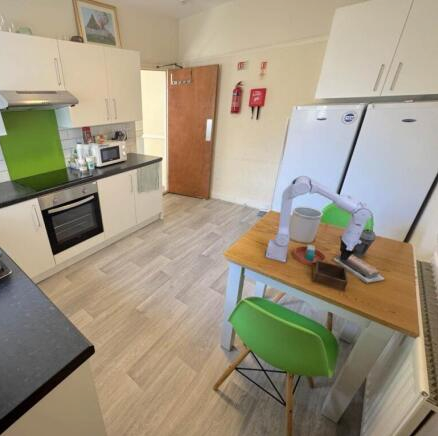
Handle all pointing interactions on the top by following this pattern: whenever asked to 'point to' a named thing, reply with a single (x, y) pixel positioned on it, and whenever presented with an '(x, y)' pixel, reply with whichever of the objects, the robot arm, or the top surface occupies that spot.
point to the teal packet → (310, 255)
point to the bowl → (300, 256)
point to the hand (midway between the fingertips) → (342, 255)
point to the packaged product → (359, 269)
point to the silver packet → (310, 248)
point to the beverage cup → (364, 242)
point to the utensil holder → (304, 223)
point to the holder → (330, 275)
